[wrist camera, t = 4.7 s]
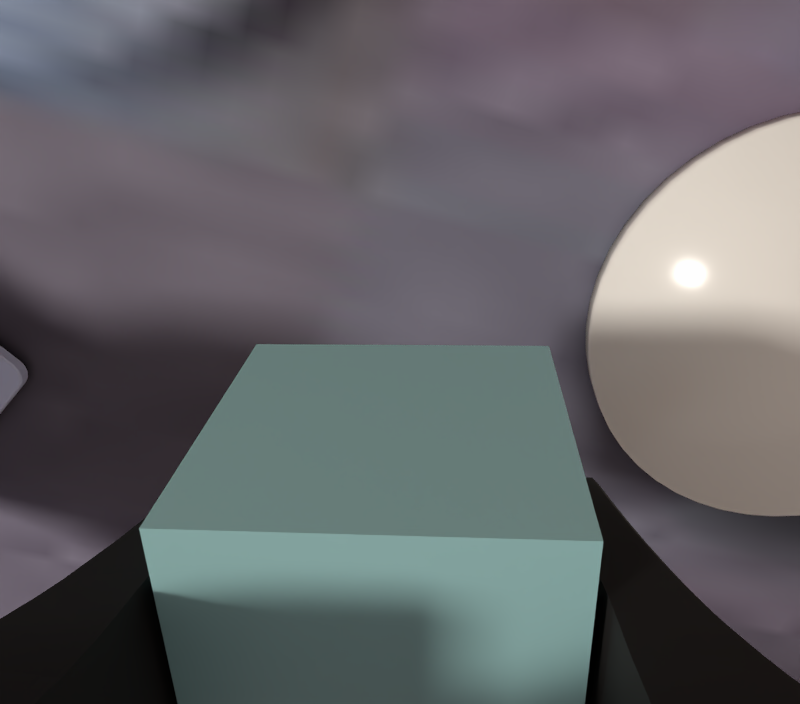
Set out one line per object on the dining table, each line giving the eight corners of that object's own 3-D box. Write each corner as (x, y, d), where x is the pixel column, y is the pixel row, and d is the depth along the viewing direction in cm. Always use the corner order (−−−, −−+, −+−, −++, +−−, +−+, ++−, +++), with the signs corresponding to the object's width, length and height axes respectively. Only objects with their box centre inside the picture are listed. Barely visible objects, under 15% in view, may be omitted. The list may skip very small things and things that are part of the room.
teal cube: (283, 569, 14) (203, 819, 10) (256, 343, 12) (139, 528, 8) (533, 578, 14) (568, 841, 10) (548, 346, 12) (603, 541, 7)
